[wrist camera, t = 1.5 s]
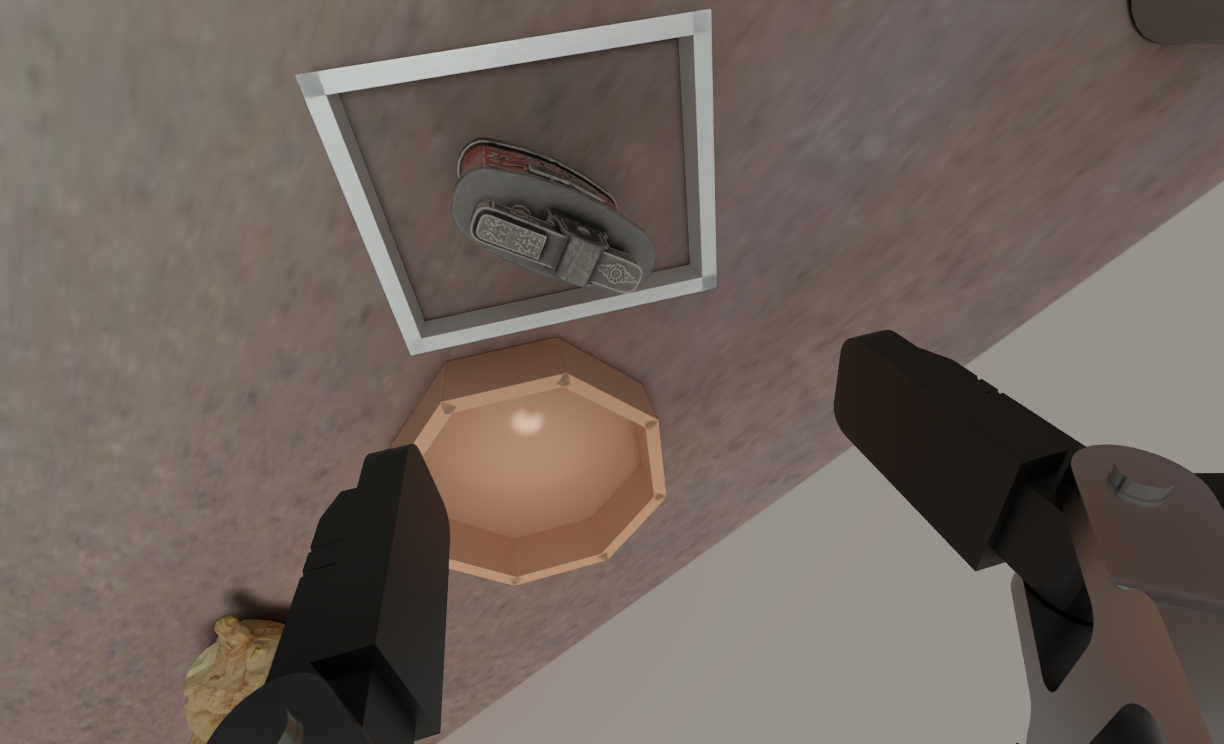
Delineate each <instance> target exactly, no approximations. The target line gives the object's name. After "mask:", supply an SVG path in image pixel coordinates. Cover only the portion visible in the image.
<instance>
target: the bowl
mask: <svg viewBox="0 0 1224 744" xmlns="http://www.w3.org/2000/svg"><path fill="white" fill-rule="evenodd" d="M658 421H659V419H658V417H657V415H656V413H655V411H654V409H653V407H652V405H651V403H650V401H649V398H648V396H647V394H646V392H645V390H644V388H643V386H642V384H641V383H640V382H638V381H636V380H634V379H633V378H631V377H629V376H627V375H625V374H623V373H622V372H620V371H618V370H616V369H614V368H613V367H611V366H609V365H607V364H605V363H603V362H602V361H600V360H598V359H596V358H594V357H592V356H591V355H589V354H587V353H585V352H583V351H581V350H580V349H578V348H576V347H574V346H572V345H571V344H569V343H567V342H565V341H563V340H561V339H560V338H558V337H555V338H550V339H546V340H541V341H537V342H532V343H528V344H523V345H519V346H514V347H510V348H506V349H501V350H497V351H492V352H488V353H483V354H479V355H474V356H470V357H466V358H461V359H457V360H452V361H448V362H447V361H446V362H444V365H443V366H442V368H441V370H440V371H439V373H438V374H437V376H436V377H435V379H434V380H433V382H432V383H431V385H430V386H429V388H428V389H427V391H426V392H425V394H424V396H423V397H422V399H421V400H420V402H419V403H418V405H417V406H416V408H415V409H414V411H413V412H412V414H411V415H410V417H409V418H408V420H407V422H406V423H405V425H404V426H403V428H402V429H401V431H400V432H399V434H398V435H397V437H396V438H395V440H394V441H393V443H392V448H395V447H399V446H404V445H408V444H412V443H413V444H415V445H416V446H417V447H418V448H419V450H420V452H421V454H422V456H423V458H424V460H425V463H426V465H427V467H428V469H429V471H430V474H431V476H432V478H433V480H434V482H435V484H436V487H437V489H438V491H439V493H440V495H441V498H442V500H443V502H444V504H445V507H446V511H447V514H448V519H449V525H450V555H449V569H453V570H456V571H460V572H464V573H468V574H472V575H476V576H479V577H483V578H487V579H491V580H495V581H499V582H502V583H506V584H510V585H513V586H516V585H518V584H522V583H526V582H529V581H533V580H537V579H540V578H544V577H547V576H551V575H555V574H558V573H562V572H566V571H569V570H573V569H576V568H580V567H584V566H587V565H591V564H595V563H598V562H602V561H605V560H609V558H610V557H611V556H612V555H613V554H614V553H615V551H616V550H617V549H618V548H619V547H620V546H621V545H622V544H623V543H624V542H625V541H626V540H627V539H628V538H629V537H630V535H631V534H632V533H633V532H634V531H635V530H636V529H637V528H638V527H639V526H640V525H641V524H642V523H643V522H644V521H645V519H646V518H647V517H648V516H649V515H650V514H651V513H652V512H653V511H654V510H655V509H656V508H657V507H658V506H659V505H660V503H661V502H662V501H663V500H664V499H665V498H666V497H667V495H666V488H665V479H664V469H663V460H662V450H661V441H660V431H659V422H658Z"/></svg>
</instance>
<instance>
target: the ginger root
mask: <svg viewBox="0 0 1224 744" xmlns="http://www.w3.org/2000/svg"><path fill="white" fill-rule="evenodd" d="M284 625H285V624H282V623H279V622H274V621H268V620H260V619H246V620H242V621H241V622H240V621H239V620H238V619H237V618H235V617H234V616H231V615H226V616H223V617H221V618H220V619H218V620H217V621H216V624H215V629H214V630H215V632H216V633H217V634H218V636H219V637H217V638H216V642H215V643H213V644H212V645H211V646H210V647H208V648H207V649H206V650H205V651H204V652H203V653H202V654H201V655H200V656H199V657H198V658H197V659H196V660H195V661H194V662H193V663H192V664H191V665H190V667H189V668H188V670H187V675H186V680H185V683H184V685H183V687H182V691H183V694H184V695H185V696H187V698H186V701H185V713H186V719H187V723H188V728H189V729H191V730H192V731H193V735H192V737H191V741H190V742H191V744H206V743H207V741H208V740H209V738H210V737H211V735H212V733H213V732H214V731H215V729H216V728H217V727H218V725H219V724H220V723H221V722H222V720H223V719H224V718H225V717H226V716H227V715H228V714H229V713H230V711H231V710H232V709H233V708H234V707H235V706H237V705H238V704H239V703H240V702H241V701H242V700H243V699H244V698H246V697H247V696H248V695H250V694H251V693H252V692H254V691H255V690H256V689H258V688H260V687H261V686H263V685H264V683H265V681H266V678H267V676H268V673H269V670H270V667H271V664H272V661H273V658H274V655H275V652H276V649H277V646H278V643H279V640H280V637H281V634H282V631H283V628H284Z"/></svg>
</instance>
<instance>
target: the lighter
mask: <svg viewBox="0 0 1224 744" xmlns="http://www.w3.org/2000/svg"><path fill="white" fill-rule="evenodd" d="M457 173H458V181H457V183H456V185H455V187H454V189H453V194H452V201H451V213H452V218H453V221H454V223H455V225H456V227H457V228H458V230H459V232H461V233H462V234H463V235H464V236H465V237H466V238H468V239H469V240H471V241H473V242H474V243H476V244H478V245H480V246H481V247H483V248H485V249H487V250H489V251H490V252H492V253H494V254H496V255H497V256H499V257H501V258H503V259H504V260H506V261H509V262H511V263H513V264H516V265H518V266H520V267H523V268H525V269H527V270H530V271H532V272H534V273H537V274H539V275H541V276H544V277H547V278H551V279H554V280H558V281H562V282H565V283H569V284H572V285H575V286H577V287H584V288H591V289H597V290H604V291H611V292H617V293H624V294H629V293H632V292H633V291H635V289H637V288H638V287H639V286H640V285H642V284H643V283H644V282H645V281H646V280H647V278H648V277H649V275H650V274H651V273H652V270H653V267H654V264H655V258H656V250H655V247H654V244H653V241H652V240H651V239H650V238H649V237H648V236H647V235H646V234H645V232H644V231H643V230H642V229H641V228H639V227H638V226H636V225H635V224H634V223H632V222H631V221H629V220H628V219H626V218H625V217H624V216H623V215H622V213H621V212H620V211H619V210H618V206H617V203H616V201H615V199H614V198H613V197H612V196H611V195H610V194H609V193H608V191H607V190H605V189H604V188H602V187H601V186H600V185H598V184H597V183H595V182H594V181H593V180H591V179H590V178H588V177H587V176H586V175H584V174H583V173H581V172H579V171H577V170H576V169H574V168H572V167H570V166H568V165H566V164H564V163H563V162H561V161H559V160H557V159H555V158H553V157H551V156H548V155H545V154H543V153H540V152H537V151H534V150H532V149H529V148H526V147H523V146H521V145H516V144H512V143H508V142H503V141H499V140H495V139H490V138H477V139H474V140H472V141H470V142H469V143H468V144H467V145H466V146H465V147H464V148H463V150H462V152H461V154H460V156H459V160H458V167H457Z"/></svg>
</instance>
